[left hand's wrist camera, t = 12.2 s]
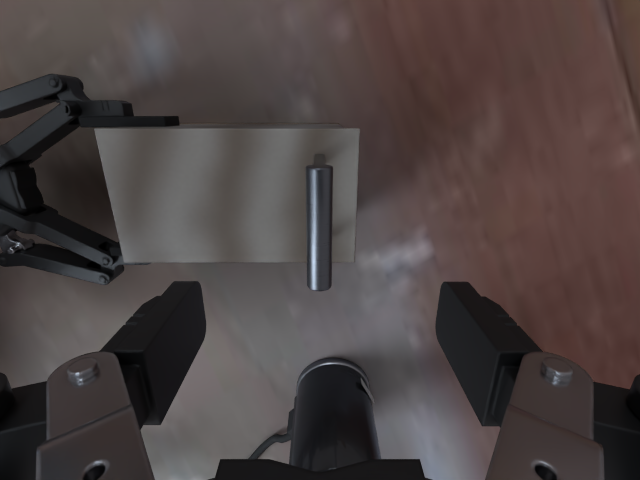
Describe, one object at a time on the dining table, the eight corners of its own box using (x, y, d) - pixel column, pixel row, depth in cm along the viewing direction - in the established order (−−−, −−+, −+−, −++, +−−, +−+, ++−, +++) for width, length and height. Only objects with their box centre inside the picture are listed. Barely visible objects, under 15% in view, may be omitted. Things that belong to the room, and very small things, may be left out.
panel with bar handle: (358, 128, 24) (377, 135, 16) (353, 258, 27) (366, 315, 20) (100, 128, 24) (-3, 135, 16) (129, 258, 27) (55, 315, 20)
